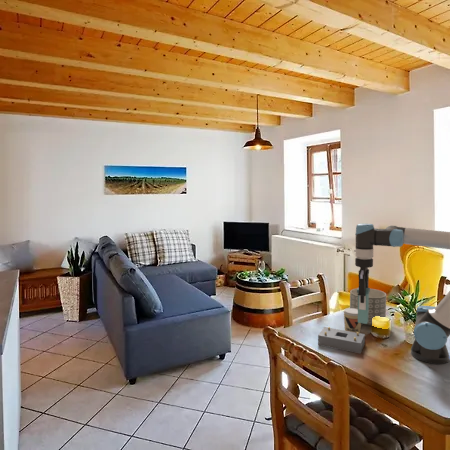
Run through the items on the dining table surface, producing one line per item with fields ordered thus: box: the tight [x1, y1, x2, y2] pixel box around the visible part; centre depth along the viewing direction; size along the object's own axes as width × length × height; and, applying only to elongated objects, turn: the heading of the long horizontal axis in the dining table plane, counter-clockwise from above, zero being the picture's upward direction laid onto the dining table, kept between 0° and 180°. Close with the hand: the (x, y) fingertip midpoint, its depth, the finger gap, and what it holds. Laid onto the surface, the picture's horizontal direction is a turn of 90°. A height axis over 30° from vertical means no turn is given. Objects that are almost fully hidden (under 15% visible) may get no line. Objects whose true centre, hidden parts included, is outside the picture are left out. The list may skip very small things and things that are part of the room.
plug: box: [356, 287, 371, 324], centre depth 163 cm, size 5×5×16 cm
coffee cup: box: [343, 307, 362, 333], centre depth 190 cm, size 9×9×12 cm
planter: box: [349, 287, 387, 327], centre depth 202 cm, size 19×19×18 cm
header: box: [317, 326, 366, 354], centre depth 176 cm, size 20×12×6 cm, turn 60°
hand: (363, 307), depth 163 cm, fingers closed on plug, 4 cm apart
